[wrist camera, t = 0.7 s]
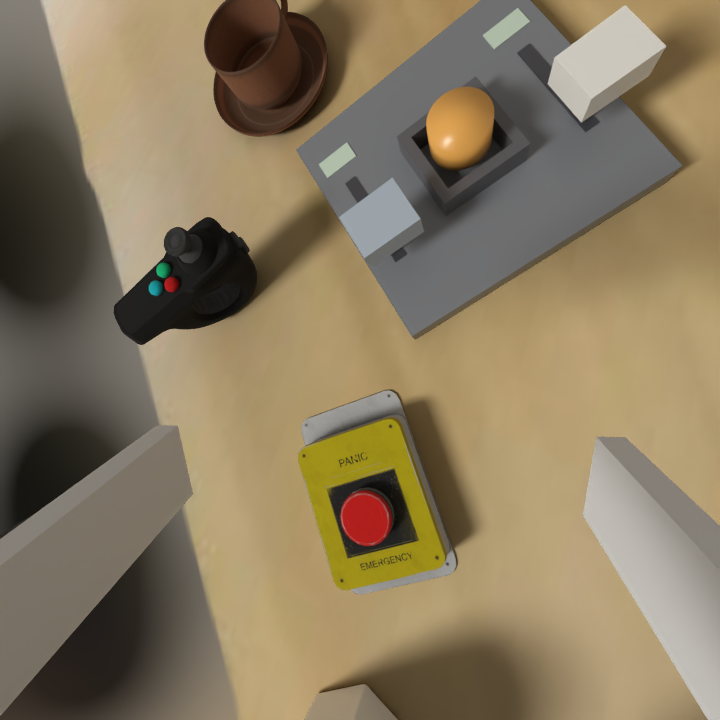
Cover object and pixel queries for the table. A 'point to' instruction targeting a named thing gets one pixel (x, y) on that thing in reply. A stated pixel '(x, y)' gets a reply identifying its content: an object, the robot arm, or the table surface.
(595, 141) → the control panel
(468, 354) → the table surface
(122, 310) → the controller
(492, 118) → the amber button
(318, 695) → the jar
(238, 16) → the cup and saucer
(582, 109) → the off-white rectangular box
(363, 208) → the slate lever
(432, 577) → the emergency button
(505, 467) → the table surface
